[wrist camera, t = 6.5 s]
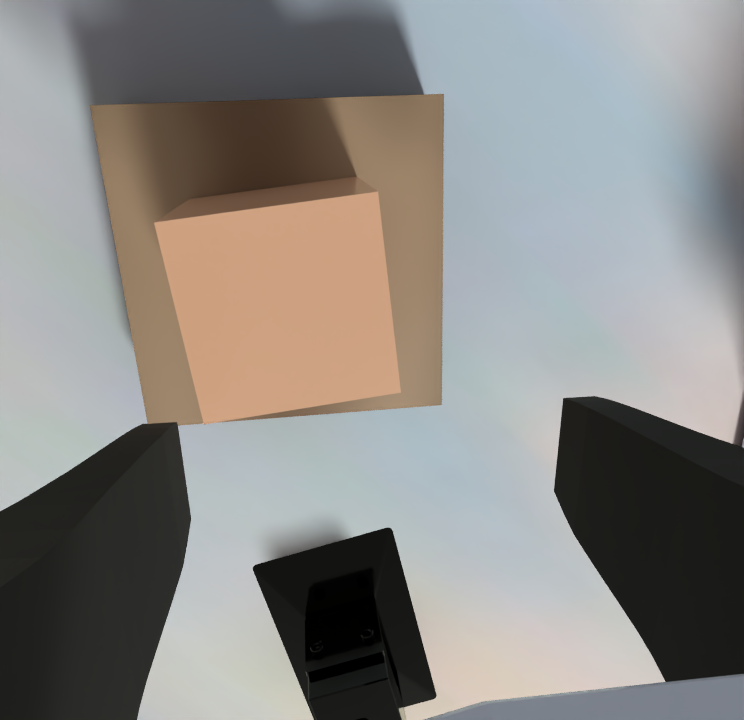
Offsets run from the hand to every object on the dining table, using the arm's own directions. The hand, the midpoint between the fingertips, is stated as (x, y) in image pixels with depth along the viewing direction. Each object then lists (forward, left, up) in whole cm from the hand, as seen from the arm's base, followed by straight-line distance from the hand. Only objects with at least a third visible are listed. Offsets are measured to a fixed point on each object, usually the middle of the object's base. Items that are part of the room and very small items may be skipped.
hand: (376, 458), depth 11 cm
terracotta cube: (+2, -2, -7) cm, 8 cm away
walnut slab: (+2, -2, -10) cm, 11 cm away
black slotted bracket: (0, +14, -11) cm, 18 cm away
